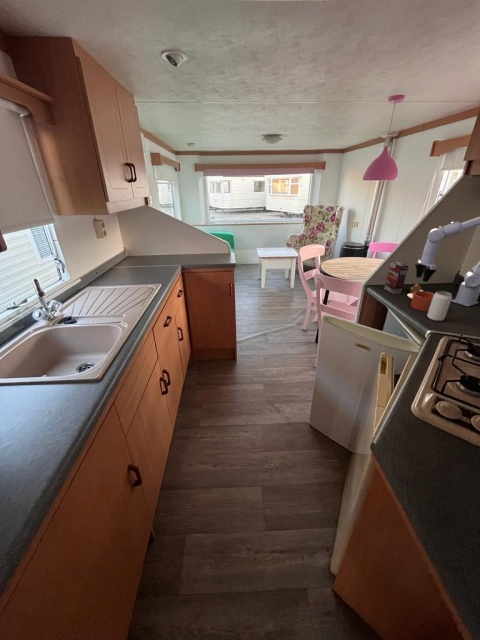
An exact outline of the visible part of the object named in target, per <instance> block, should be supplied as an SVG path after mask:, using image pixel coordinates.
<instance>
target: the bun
mask: <svg viewBox="0 0 480 640" xmlns="http://www.w3.org/2000/svg"><path fill="white" fill-rule="evenodd" d="M419 290H423V289H422V287H421V285H419V284H415V285H413V286H412V287H410V290H409V292H410V293H415V292H418V291H419Z"/></svg>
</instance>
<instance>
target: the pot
mask: <svg viewBox="0 0 480 640" xmlns="http://www.w3.org/2000/svg"><path fill="white" fill-rule="evenodd" d="M434 294H435V293H434V292H429V291H424V292H422V291H419V292H415V293H414V295H413V298H412V299H411V302H410V307H411V308H412V309H414V310H417V311H420V312H424V313H425V312H426V313H428V311H429V308H430V305H431V302H432V299H433V296H434Z"/></svg>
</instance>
